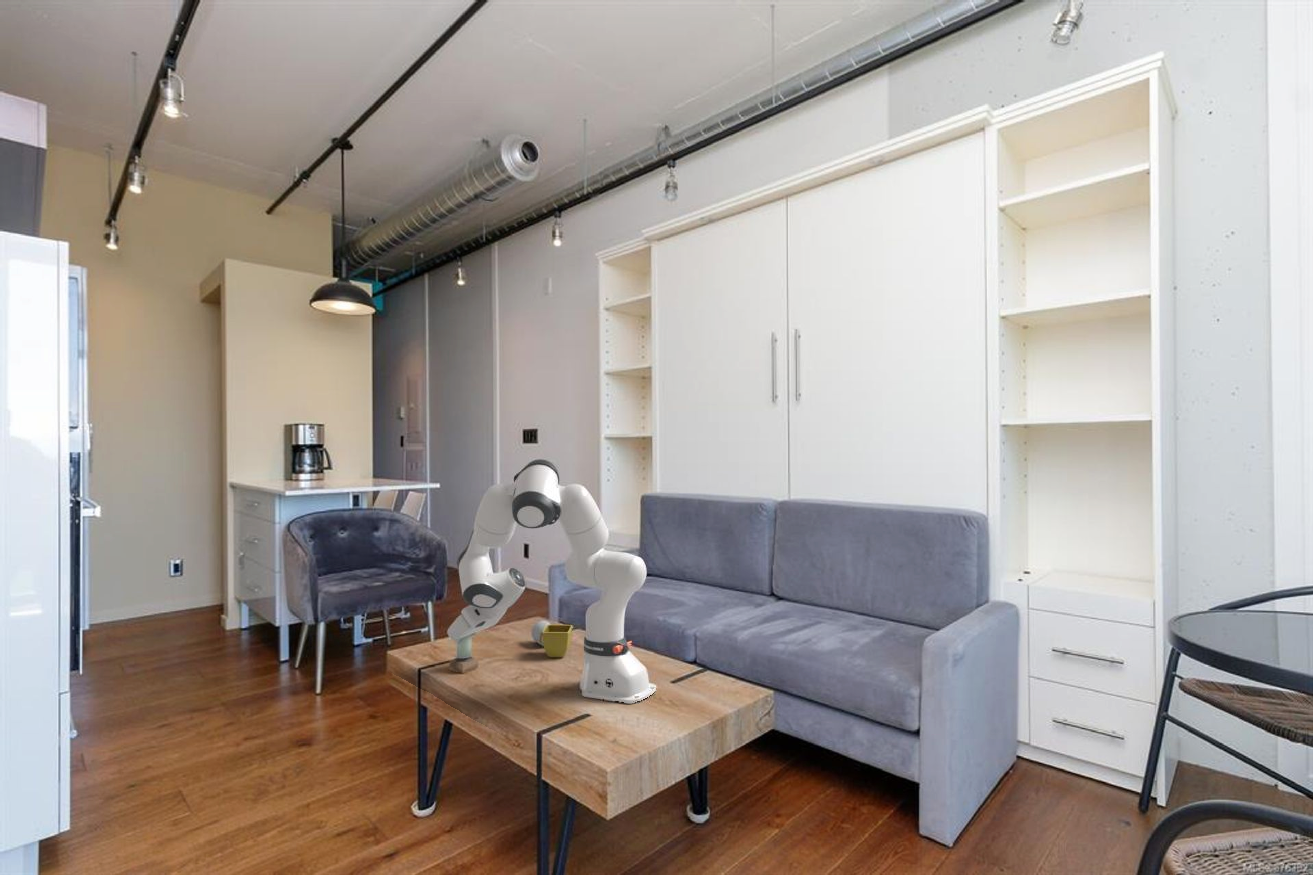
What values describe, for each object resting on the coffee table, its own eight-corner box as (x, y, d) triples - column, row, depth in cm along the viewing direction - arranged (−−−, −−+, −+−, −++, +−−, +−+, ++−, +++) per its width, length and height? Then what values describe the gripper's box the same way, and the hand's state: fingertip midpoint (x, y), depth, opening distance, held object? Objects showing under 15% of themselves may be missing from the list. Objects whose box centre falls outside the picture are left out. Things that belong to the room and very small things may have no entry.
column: (474, 655, 201) (474, 620, 201) (462, 659, 197) (463, 624, 197) (464, 653, 203) (465, 618, 203) (453, 656, 199) (453, 621, 200)
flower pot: (568, 660, 209) (568, 632, 209) (541, 659, 209) (541, 632, 210) (572, 651, 218) (572, 624, 218) (546, 651, 218) (546, 624, 218)
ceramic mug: (539, 649, 220) (540, 627, 220) (530, 643, 227) (531, 621, 227) (568, 645, 225) (568, 623, 226) (559, 639, 232) (559, 618, 233)
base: (477, 668, 201) (477, 658, 201) (462, 673, 196) (462, 663, 196) (464, 664, 204) (464, 654, 204) (449, 670, 199) (449, 659, 199)
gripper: (503, 595, 207) (478, 622, 211) (459, 609, 188) (433, 639, 192) (514, 610, 205) (489, 637, 209) (471, 626, 186) (445, 656, 190)
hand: (462, 638), depth 200 cm, fingers closed on column, 4 cm apart
